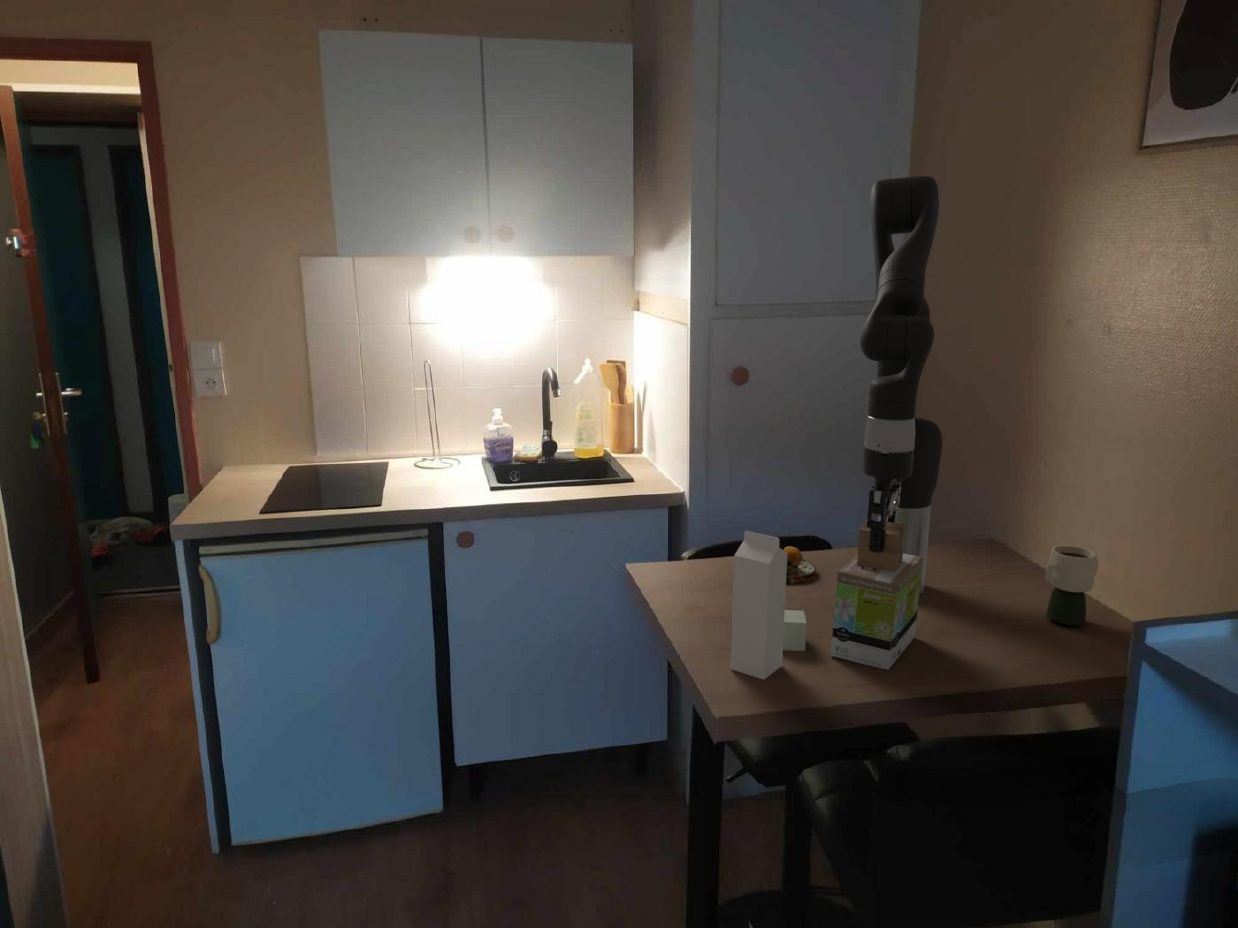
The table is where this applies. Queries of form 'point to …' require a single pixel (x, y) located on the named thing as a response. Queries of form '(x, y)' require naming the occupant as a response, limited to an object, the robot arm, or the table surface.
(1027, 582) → the table surface
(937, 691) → the table surface
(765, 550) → the milk
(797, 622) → the sage block
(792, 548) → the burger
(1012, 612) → the table surface
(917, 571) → the tea box
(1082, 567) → the character mug
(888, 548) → the walnut cube
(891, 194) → the robot arm
